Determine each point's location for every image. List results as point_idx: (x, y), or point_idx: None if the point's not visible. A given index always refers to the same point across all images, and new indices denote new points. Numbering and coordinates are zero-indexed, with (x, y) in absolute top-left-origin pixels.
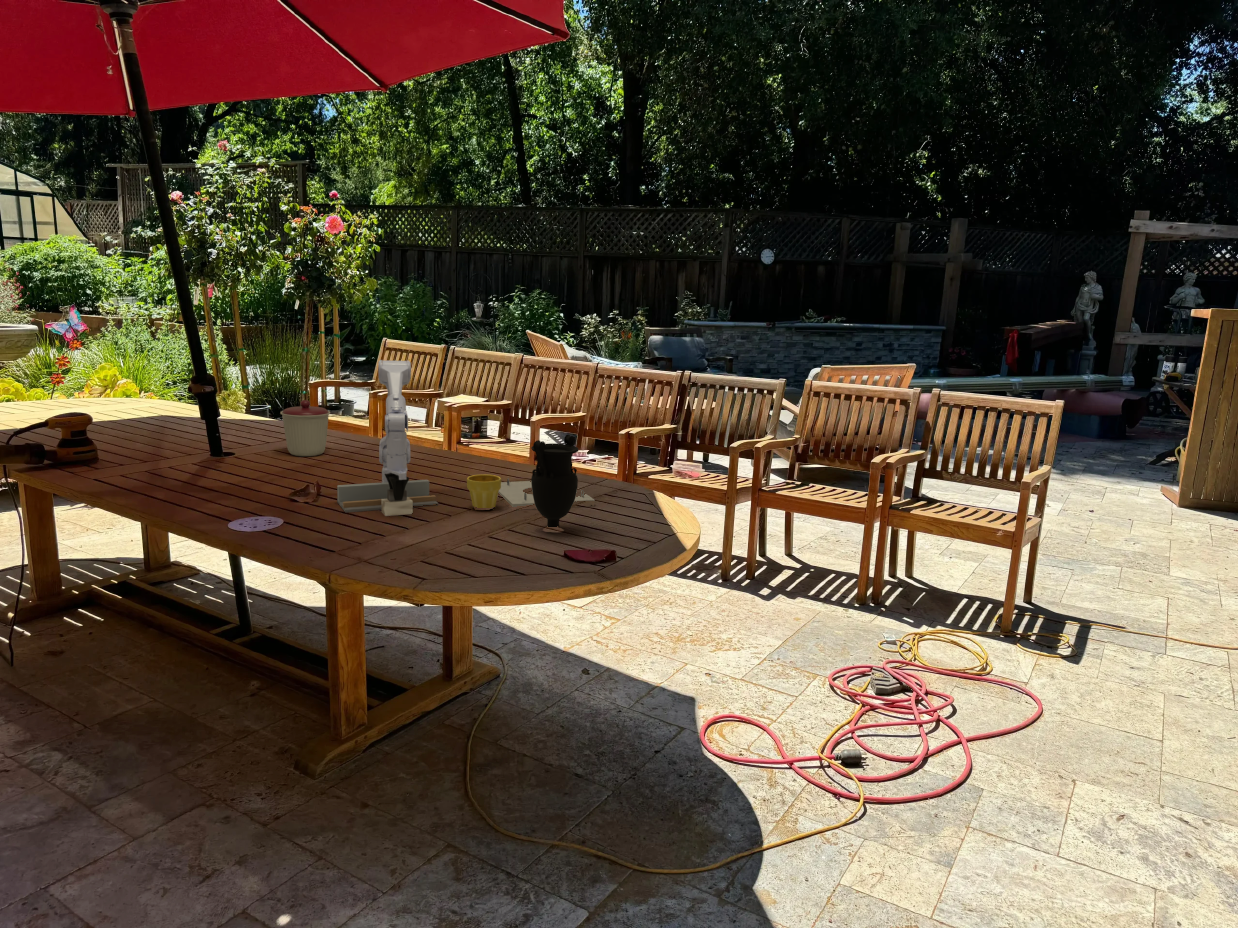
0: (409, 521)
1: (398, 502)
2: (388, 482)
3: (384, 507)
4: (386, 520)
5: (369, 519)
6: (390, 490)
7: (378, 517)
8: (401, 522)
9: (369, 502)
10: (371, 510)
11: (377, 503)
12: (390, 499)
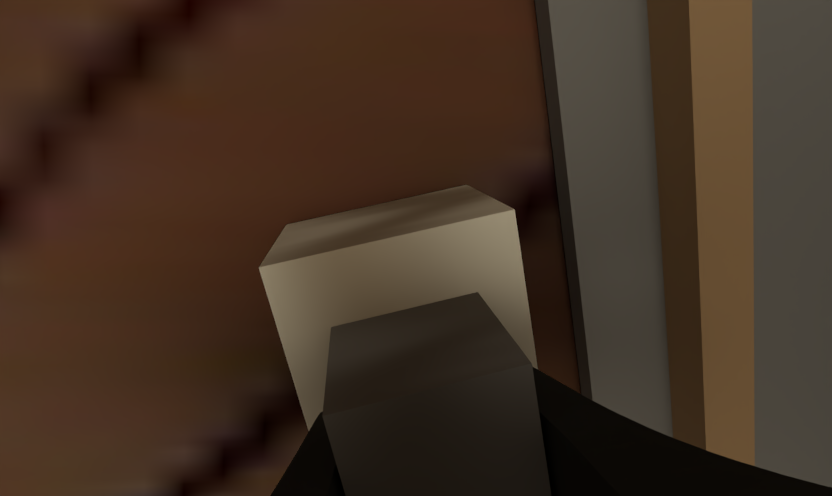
0: (58, 454)
1: None
2: (694, 473)
3: (326, 232)
4: (92, 233)
5: (136, 36)
6: (440, 425)
7: (231, 146)
8: (10, 383)
9: (679, 44)
10: (544, 74)
11: (670, 146)
12: (329, 352)
